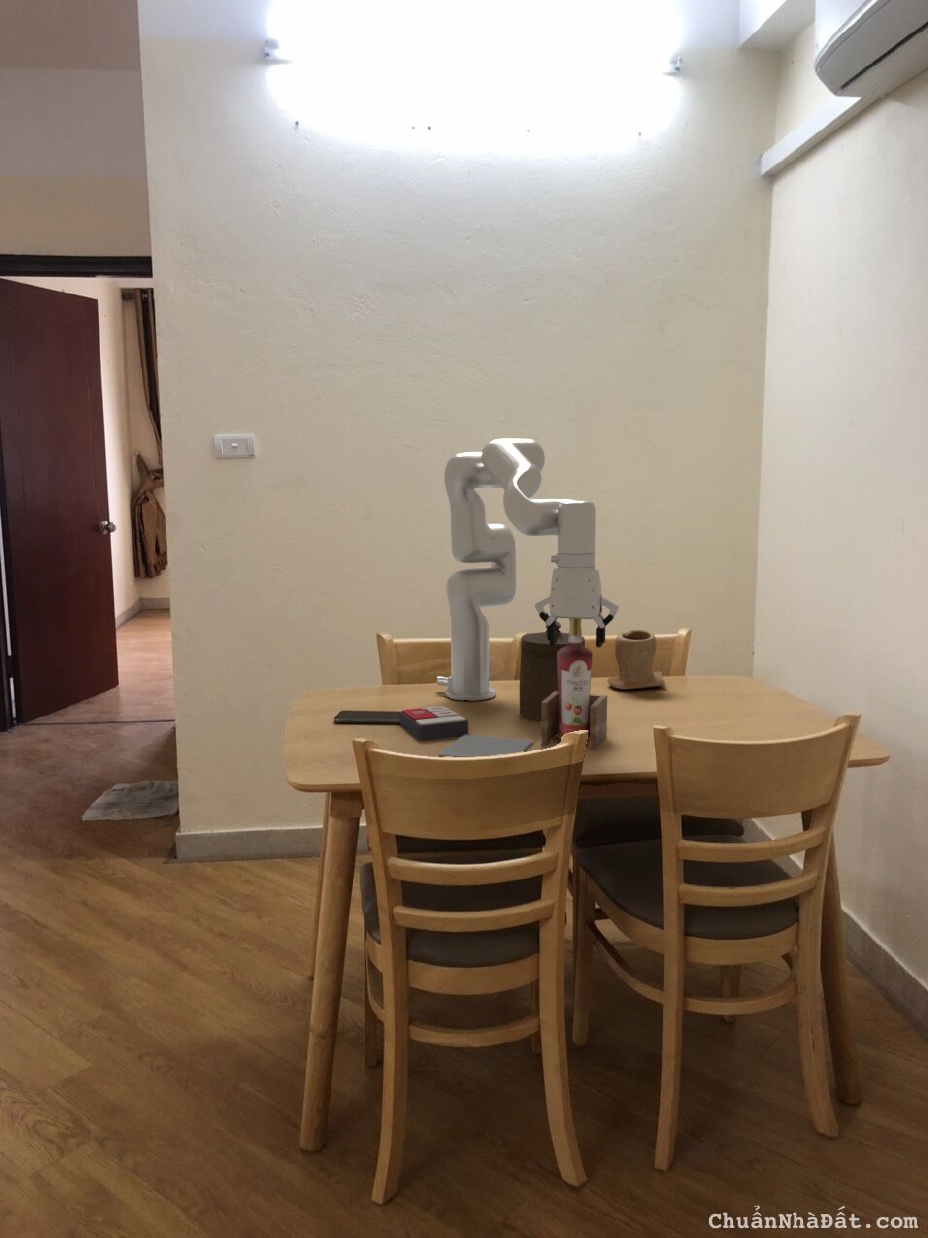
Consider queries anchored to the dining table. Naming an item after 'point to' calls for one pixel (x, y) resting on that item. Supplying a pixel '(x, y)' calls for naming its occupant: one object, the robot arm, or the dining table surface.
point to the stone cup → (636, 661)
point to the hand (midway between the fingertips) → (576, 645)
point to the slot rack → (595, 723)
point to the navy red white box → (433, 723)
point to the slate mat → (484, 746)
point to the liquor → (574, 682)
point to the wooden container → (539, 670)
